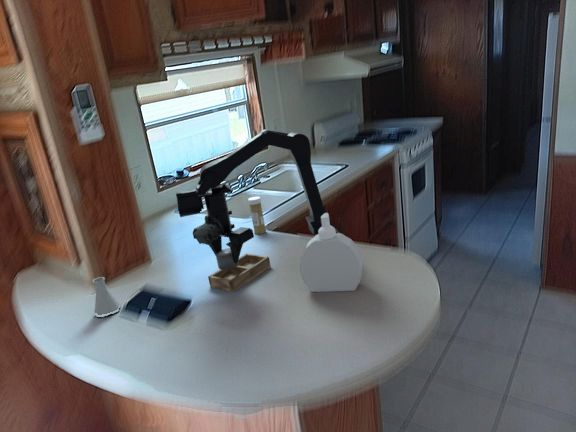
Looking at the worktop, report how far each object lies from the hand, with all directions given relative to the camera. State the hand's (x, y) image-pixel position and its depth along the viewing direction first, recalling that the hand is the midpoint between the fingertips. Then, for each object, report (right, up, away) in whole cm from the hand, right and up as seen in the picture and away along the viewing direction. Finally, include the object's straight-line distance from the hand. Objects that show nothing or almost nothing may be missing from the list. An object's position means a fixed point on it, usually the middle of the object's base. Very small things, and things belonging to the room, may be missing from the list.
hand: (228, 261), depth 135 cm
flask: (-33, -14, -4) cm, 36 cm away
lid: (0, -1, 0) cm, 1 cm away
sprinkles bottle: (+7, +7, +41) cm, 42 cm away
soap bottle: (+29, -6, -10) cm, 32 cm away
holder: (+3, -5, +5) cm, 8 cm away
